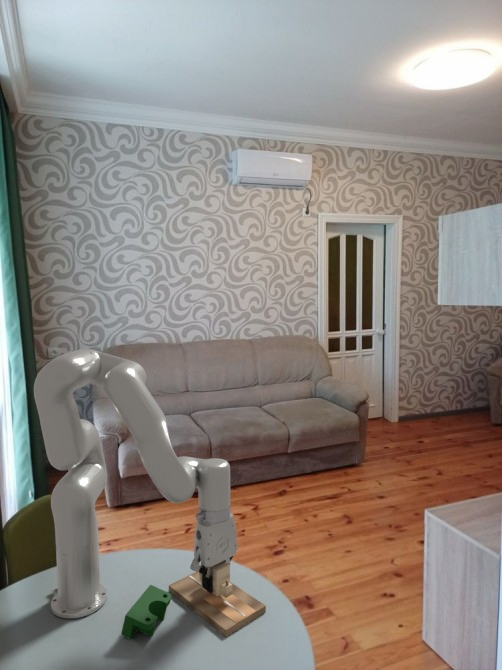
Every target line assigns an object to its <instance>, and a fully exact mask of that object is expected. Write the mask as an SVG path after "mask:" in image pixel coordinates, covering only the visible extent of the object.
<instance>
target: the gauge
mask: <svg viewBox="0 0 502 670" xmlns="http://www.w3.org/2000/svg"><path fill="white" fill-rule="evenodd" d="M205 569H206V567H205ZM211 576H212V577H213V592H212V593H213V594H215V595H216V596H218V595H220V594H221V595H222V596H224V597H225V598H227V597H229V596H230V595H232V584H231V583H232V582H231V563H230V564H228V563H226V562H225V561H222V562H220V563H218V564H216V565H214V566H212V569H211ZM199 580H201V585H202V574H201V573H200V572H199ZM230 582H231V583H230Z"/></svg>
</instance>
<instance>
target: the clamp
mask: <svg viewBox="0 0 502 670" xmlns="http://www.w3.org/2000/svg"><path fill="white" fill-rule="evenodd" d="M171 600H172V593H171V592H169V591H166V590H164V589H162V588H159V587H157V586H154V585H152V584H150V585H149V586H148V587H147V588H146V589H145V591H144V592H142V594H141V596H139V598H138V599H137V600H136V602H134V604H133V605H132V606H131V608H129V610H128V611H127V612H126V614H125V616H124V620H123V623H122V624H123V625H122V628H121V636H123V637H125V638H127V639H129V640H131V639H133V637H134V635H135V634H136V632H138V631H139V632H141V633H144V634H146V635H148V636H150V637H153V636H154V634H155V629H156V625H157V621H158V620H159V621H162V622H163V621H164V619H165V615H166V612H167V608H168V606H169V605H170V603H171Z"/></svg>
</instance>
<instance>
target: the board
mask: <svg viewBox="0 0 502 670" xmlns="http://www.w3.org/2000/svg"><path fill="white" fill-rule="evenodd" d="M230 583H231V584H232V595H230V596H229V597H227V598H225V597H224V596H222V595H221V594H220V595H218V596H216V595H215V594H213V593H209V592H208V591H206V590H205V589H204V588H203V586H202V585H201V580H199V572H196V571H194V572H193V573H191V574H189V575H187V576H185V577H182V578H180V579H179V580H177V581H175V582H173V583H170V584H169V585H168V592H169V593H170V594H171V595H173V596H174V597H176V598H177V599H178V600H180V601H181V602H182V603H183V604H184V605H186V606H187V607H188V608H189V609H191V610H192V611H193V612H194V613H196V614H197V615H198V616H199V617H200V618H202V619H203V620H204V621H206V622H207V623H208V624H209V625H211V626H212V627H213V628H215V629H216V630H217V631H218V632H219V633H221V635H224V636H225V637H226V638H227V637H228V636H230V635H231V634H233V633H235V632H236V631H237V630H239V629H241V628H243V626H245V625H247V624H249V623H250V622H251V621H254V620H256V618H258V617H260V616H261V615H263V614H265V613H266V611H267V606H266V604H264V603H262V602H261V601H260V600H258V599H256V597H254V596H252V595H250V594H249V593H247V592H246V591H245V590H243V589H242V588H240V587H239V586H237V585H235V584H234V583H232V582H231V581H230Z"/></svg>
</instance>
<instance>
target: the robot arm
mask: <svg viewBox="0 0 502 670" xmlns="http://www.w3.org/2000/svg"><path fill="white" fill-rule="evenodd" d="M147 379H148V378H147V373H146V371H145V368H144V367H143V366H142V365H141V364H139V363H138V362H136V361H134V360H130V359H127V358H122V357H119V356H117V355H112V354H110V353H105V352H103V351H102V352H101V351H99V350H95V349H90V348H80V349H77V350H74V351H70V352H66V353H63V354H61V355H59V356H57V357H55V358H53V359H52V360H50V361H49V362H48V363H47V364H45V365H44V366H43V367H42V368H41V369H40V370H39V372H38V373H37V375H36V377H35V380H34V384H33V397H34V402H35V405H36V410H37V413H38V417H39V422H40V423H39V424H40V428H41V434H42V438H43V443H44V446H45V447H44V448H45V453H46V456H47V459H48V462H49V463H50V465H51V466H52V467H53V468H54V469H56V470H58V471H68V472H66V474H64V476H62V477H61V478H60V479H59V480H58V482H57V483H56V485H55V486H54V488H53V489H52V492H51V495H50V507H51V512H52V516H53V517H52V518H53V522H54V533H55V535H54V536H55V551H56V558H55V559H56V581H57V592H56V593H55V594H54V595H53V597H52V599H51V602H50V609H51V612H52V613H53V614H54V615H55V616H56V617H59V618H63V619H78V618H83V617H85V616H89V615H91V614H93V613H95V612H96V611H98V610H99V609H101V607H103V605H105V602H106V601H107V599H108V594H107V593H108V592H107V589H106V587H105V586H104V585H102V584H101V578H100V577H101V576H100V574H101V571H100V543H99V539H100V538H99V523H98V517H97V516H98V515H97V513H96V512H97V511H96V502H97V500H98V498H99V496H100V495H101V493H103V491H104V489H105V487H106V485H107V482H108V470H107V465H106V459H105V456H104V451H103V445H102V441H101V437H100V434H99V431H98V430H97V428H96V426H95V425H94V424H93V423H92V422H90V421H88V420H87V419H84V418H80V417H81V416H80V413H79V412H80V411H79V408H78V404H77V402H76V400H75V398H74V396H73V395H74V392H75V391H76V390H79V389H80V388H83V387H85V386H86V385H88V384H89V385H94V386H98V387H102V388H103V389H102V390H103V391H104V394H105V396H106V397H107V399H108V400H109V402H110V403H111V405H112V407H113V408H114V409H115V410H116V412H117V413H118V415H119V417H120V418H121V420H122V422H123V423H124V424H125V426H126V427H127V429H128V431H129V432H130V434H131V435H132V437H133V440H134V443H135V446H136V449H137V451H138V454H139V457H140V459H141V462H142V464H143V467H144V468H145V471H146V473H147V475H148V476H149V478H150V479H151V481H152V482H153V484H154V485H155V487H156V488H157V490H158V492H159V493H160V494H161V496H163V497H164V498H165V499H166V500H167V501H169V502H171V503H174V504H181V503H182V504H183V503H185V502H187V501H189V500H190V499H191V498H192V496H193V495H194V493H195V490H196V489H197V491H198V513H197V514H196V513H195V519H196V524H195V531H194V539H193V541H194V542H193V559H192V562H191V564H190V566H189V568H190V570H191V571H194V572H200V573H201V574H202V586H203V588H204V589H205V590H206V591H208V592H209V593H212V592H213V577H212V576H211V569H212V566H214V565H216V564H218V563H220V562H222V561H225V562H226V563H228V564H230V565H231V561H232V559H233V558H234V556H235V555H236V553H237V551H238V550H239V546H238V539H237V538H238V536H237V527H236V522H235V518H234V514H233V513H231V511H232V510H231V465H230V463H229V462H228V460H225V459H223V458H216V457H215V458H206V459H205V458H199V457H193V456H186V455H185V456H184V455H183V456H177V454H176V453H175V450H174V448H173V445H172V442H171V439H170V435H169V428H168V422H167V419H166V416H165V414H164V411H163V410H162V409H161V407H160V406H159V404H158V403H157V401H156V400H155V398H154V397H153V395H152V393H151V392H150V390H149V388H148V387H147V386H146V383H147ZM205 567H206V569H205Z"/></svg>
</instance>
